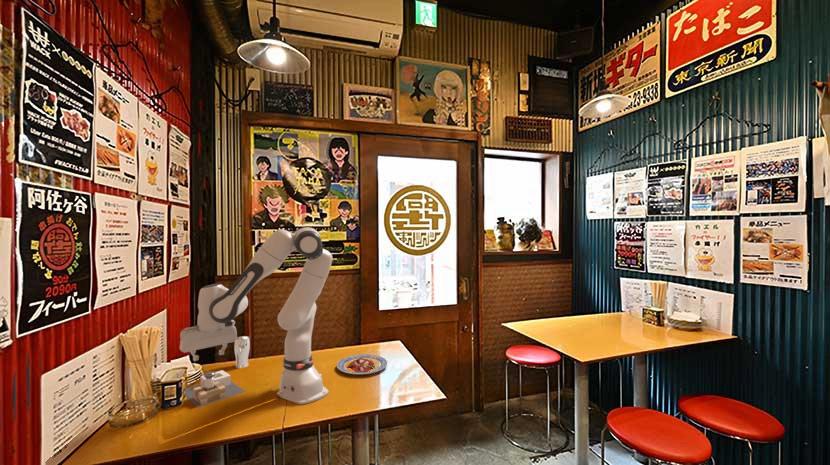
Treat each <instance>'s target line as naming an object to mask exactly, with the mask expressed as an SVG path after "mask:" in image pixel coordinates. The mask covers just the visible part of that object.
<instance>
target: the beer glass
mask: <svg viewBox="0 0 830 465" xmlns="http://www.w3.org/2000/svg"><path fill="white" fill-rule="evenodd" d="M250 348H251V342H250V336H246V335H243V336H237V339H236V341H235V342H234V355H235V368H237V369H242V368H243V369H244V368H247V367H248V366H249V354H250Z"/></svg>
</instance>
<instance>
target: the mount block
mask: <svg viewBox="0 0 830 465" xmlns="http://www.w3.org/2000/svg"><path fill="white" fill-rule="evenodd" d="M224 397H226V387H225V386H223V385H222V384H221V383H219V382H218V381H215V382H214V389H212V390H209V391H205V385H202V386H199V387H196V388H193V398H194V399H195V400H196V401H197V402H198V403H199V404H200V405H204V404H207V403H210V402H213V401H216V400H218V399H221V398H224ZM216 402H217V401H216ZM213 403H214V402H213Z"/></svg>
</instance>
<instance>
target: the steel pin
mask: <svg viewBox="0 0 830 465" xmlns="http://www.w3.org/2000/svg"><path fill="white" fill-rule="evenodd" d="M215 372H216V371H214V370H212V371H211V370H210V371H206V372H205V373H203V375H204V377H205V391H209V390H212V389H214V376H215Z"/></svg>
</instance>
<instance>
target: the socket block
mask: <svg viewBox="0 0 830 465" xmlns="http://www.w3.org/2000/svg"><path fill="white" fill-rule="evenodd" d="M231 379H232V378H231V374H229V373H227V372H226V371H225V370H223V369H222V370H217V371H215V376H214V382H215V381H218V382H219V383H221V384H222V385H223V386H227V385H231V381H232V380H231ZM200 384H201V386H202V385H205V377H204V374H203V375H201V376H200Z"/></svg>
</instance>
